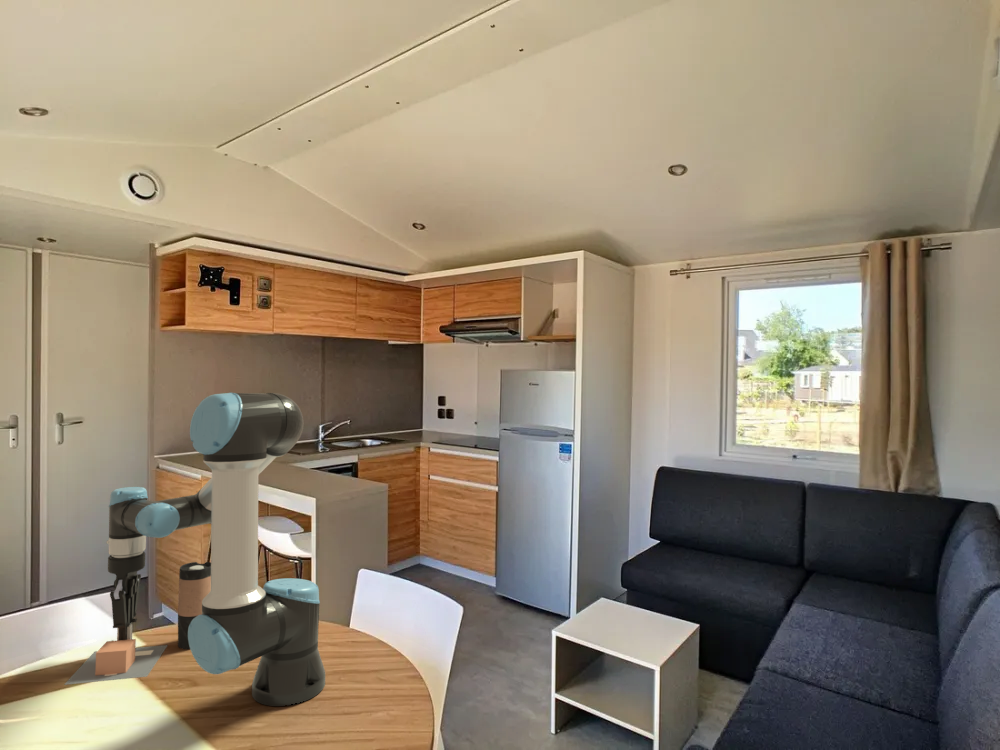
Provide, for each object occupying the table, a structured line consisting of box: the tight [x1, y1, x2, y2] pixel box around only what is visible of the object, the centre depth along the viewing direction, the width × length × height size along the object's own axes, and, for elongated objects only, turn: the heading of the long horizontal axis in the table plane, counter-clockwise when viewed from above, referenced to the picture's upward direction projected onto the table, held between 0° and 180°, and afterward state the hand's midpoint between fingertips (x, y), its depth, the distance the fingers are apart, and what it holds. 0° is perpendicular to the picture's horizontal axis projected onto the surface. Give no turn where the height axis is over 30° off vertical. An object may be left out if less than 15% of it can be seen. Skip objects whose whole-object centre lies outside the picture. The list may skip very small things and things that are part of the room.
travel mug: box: [177, 561, 211, 650], centre depth 147 cm, size 8×8×20 cm
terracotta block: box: [95, 638, 137, 675], centre depth 134 cm, size 6×6×5 cm
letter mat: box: [64, 644, 169, 686], centre depth 136 cm, size 16×16×1 cm
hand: (124, 652), depth 138 cm, fingers closed
